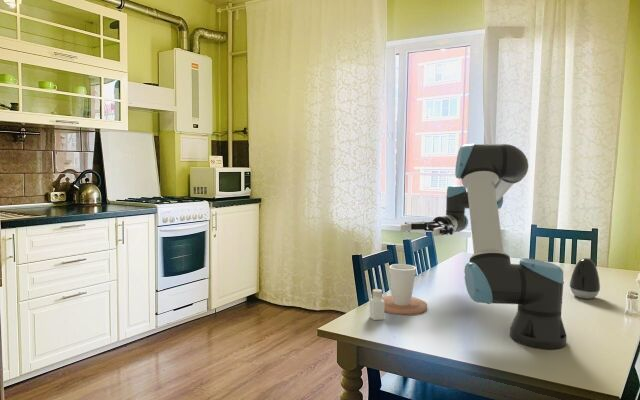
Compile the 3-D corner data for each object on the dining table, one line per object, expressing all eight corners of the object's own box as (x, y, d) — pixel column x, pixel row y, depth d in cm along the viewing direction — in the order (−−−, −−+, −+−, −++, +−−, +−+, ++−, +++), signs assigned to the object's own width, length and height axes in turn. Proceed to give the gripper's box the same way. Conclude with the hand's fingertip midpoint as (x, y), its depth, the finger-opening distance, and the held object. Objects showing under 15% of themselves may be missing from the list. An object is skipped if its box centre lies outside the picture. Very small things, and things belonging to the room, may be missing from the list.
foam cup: (414, 307, 161) (415, 271, 160) (387, 305, 163) (388, 269, 162) (415, 299, 170) (416, 264, 169) (389, 297, 172) (390, 263, 171)
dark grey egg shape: (602, 296, 181) (604, 258, 179) (595, 302, 173) (598, 262, 172) (573, 291, 188) (575, 254, 186) (565, 296, 180) (568, 258, 179)
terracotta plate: (432, 315, 157) (432, 311, 157) (378, 314, 158) (378, 310, 158) (421, 299, 175) (421, 295, 175) (373, 298, 176) (373, 294, 175)
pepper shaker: (373, 321, 151) (374, 292, 150) (368, 316, 155) (369, 289, 154) (384, 320, 152) (385, 291, 151) (380, 315, 156) (380, 288, 155)
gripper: (473, 237, 179) (448, 244, 164) (416, 231, 196) (388, 236, 180) (474, 218, 179) (449, 223, 163) (416, 213, 195) (389, 217, 179)
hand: (417, 230), depth 171 cm, fingers open, 13 cm apart
